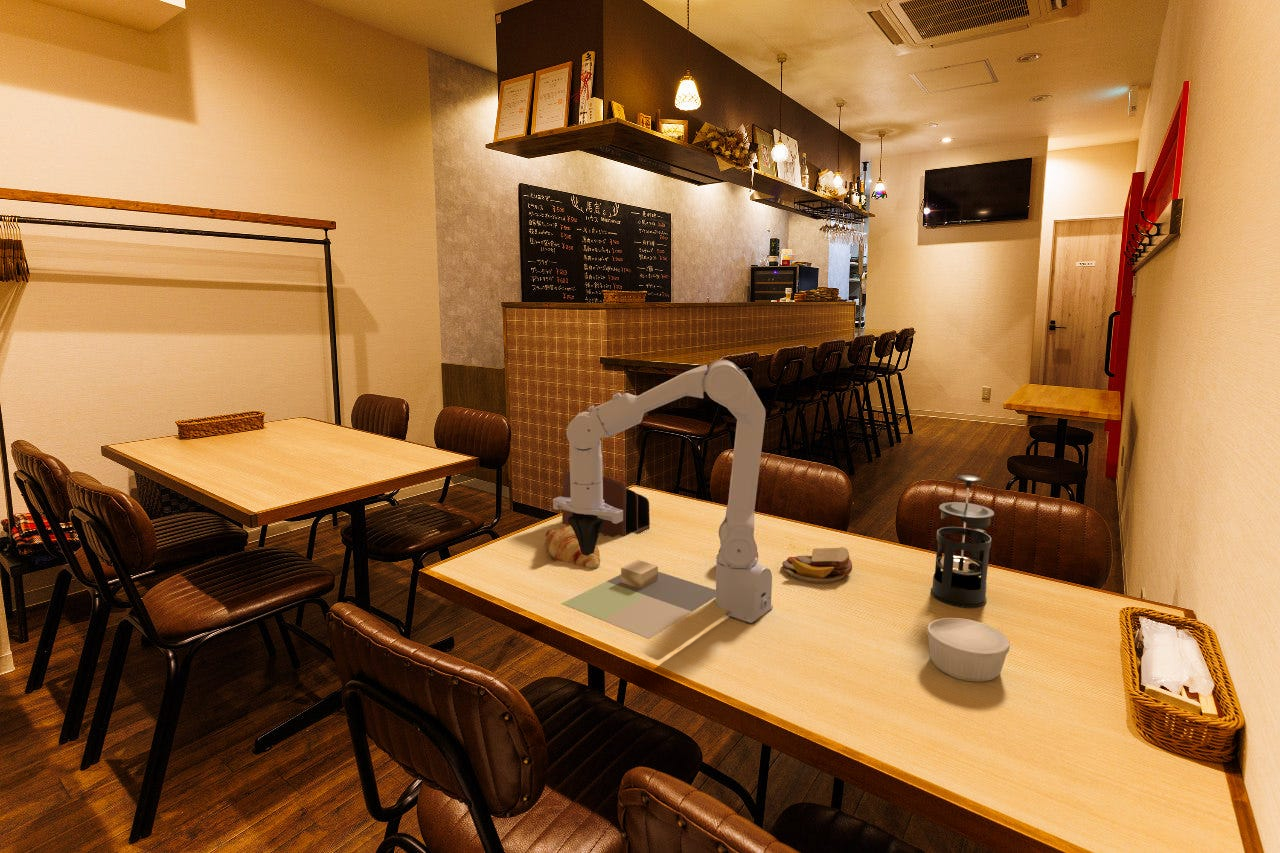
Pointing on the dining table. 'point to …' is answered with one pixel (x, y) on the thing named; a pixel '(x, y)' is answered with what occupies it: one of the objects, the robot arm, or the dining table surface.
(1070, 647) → the dining table surface
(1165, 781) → the dining table surface
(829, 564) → the toy sandwich meal
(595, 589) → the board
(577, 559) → the croissant
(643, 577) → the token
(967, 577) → the french press
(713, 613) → the dining table surface
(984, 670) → the ramekin
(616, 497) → the letter holder
